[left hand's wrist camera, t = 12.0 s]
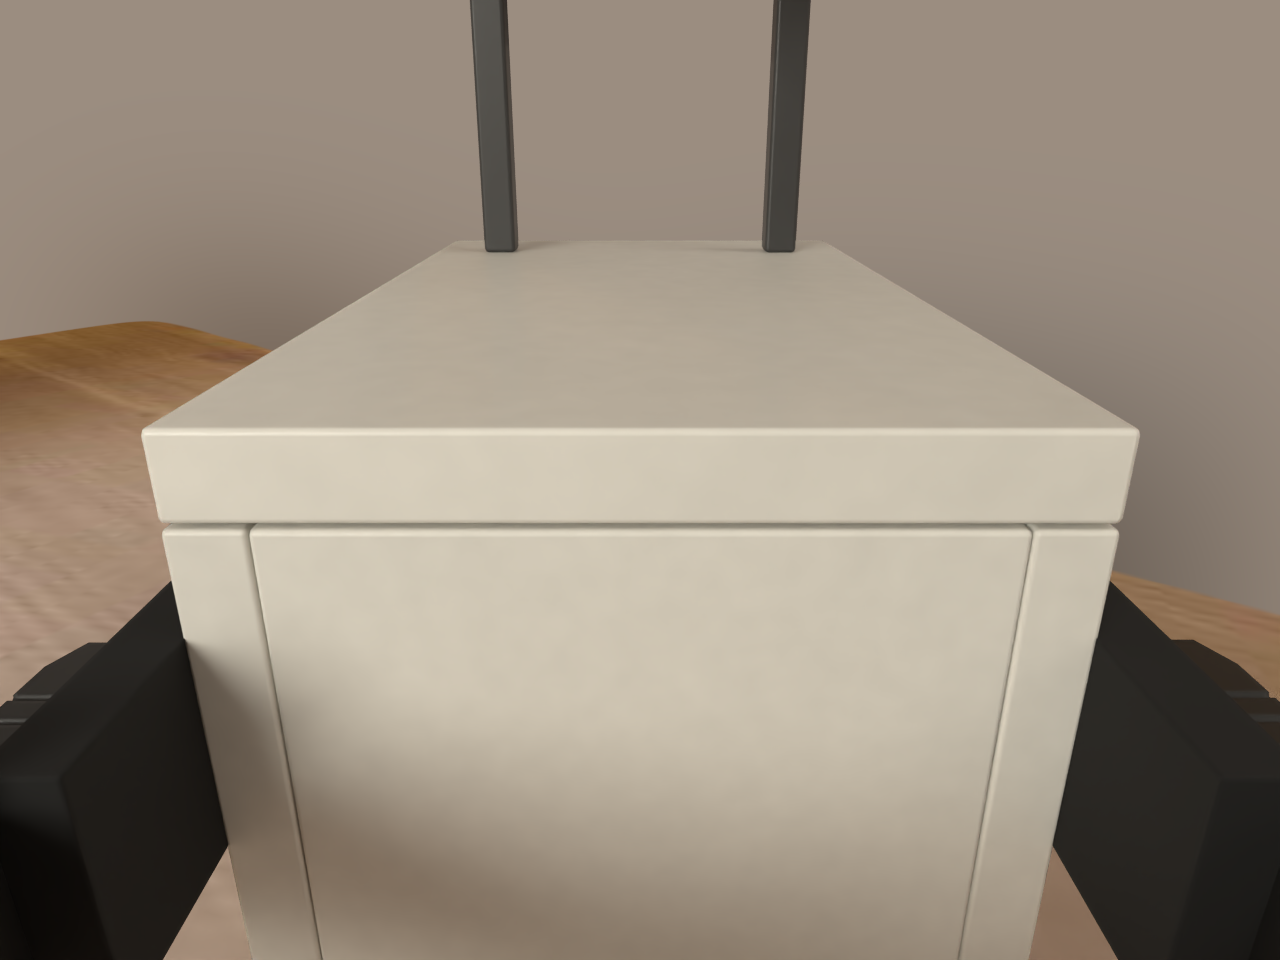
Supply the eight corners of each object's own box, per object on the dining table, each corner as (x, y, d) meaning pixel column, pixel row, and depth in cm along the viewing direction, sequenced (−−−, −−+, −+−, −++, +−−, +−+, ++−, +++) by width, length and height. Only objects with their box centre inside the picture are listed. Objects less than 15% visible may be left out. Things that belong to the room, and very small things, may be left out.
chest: (476, 605, 26) (452, 286, 22) (803, 605, 26) (827, 286, 22) (289, 1145, 12) (158, 530, 9) (990, 1146, 12) (1124, 531, 9)
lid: (458, 279, 23) (428, -131, 20) (821, 279, 23) (852, -131, 20) (155, 526, 9) (-131, -827, 5) (1124, 526, 9) (1416, -823, 5)
